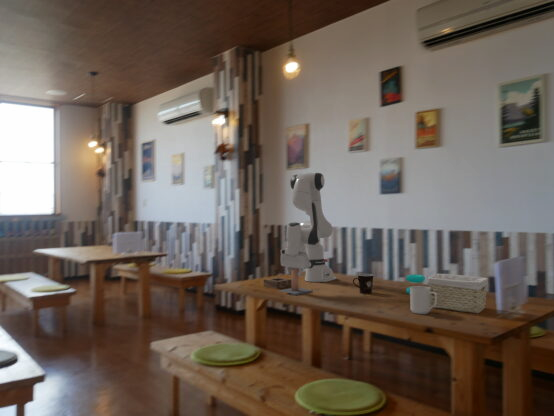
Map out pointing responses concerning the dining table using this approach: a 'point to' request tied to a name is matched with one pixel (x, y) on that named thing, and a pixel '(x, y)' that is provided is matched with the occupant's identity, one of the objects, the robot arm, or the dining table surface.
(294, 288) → the dowel pin
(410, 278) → the donuts
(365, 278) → the coffee mug
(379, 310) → the dining table surface
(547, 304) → the dining table surface
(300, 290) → the slate mat
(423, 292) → the mug
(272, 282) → the holder block
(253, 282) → the dining table surface
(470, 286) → the storage basket
